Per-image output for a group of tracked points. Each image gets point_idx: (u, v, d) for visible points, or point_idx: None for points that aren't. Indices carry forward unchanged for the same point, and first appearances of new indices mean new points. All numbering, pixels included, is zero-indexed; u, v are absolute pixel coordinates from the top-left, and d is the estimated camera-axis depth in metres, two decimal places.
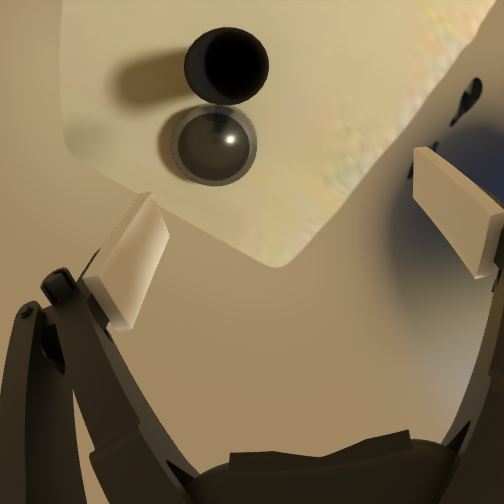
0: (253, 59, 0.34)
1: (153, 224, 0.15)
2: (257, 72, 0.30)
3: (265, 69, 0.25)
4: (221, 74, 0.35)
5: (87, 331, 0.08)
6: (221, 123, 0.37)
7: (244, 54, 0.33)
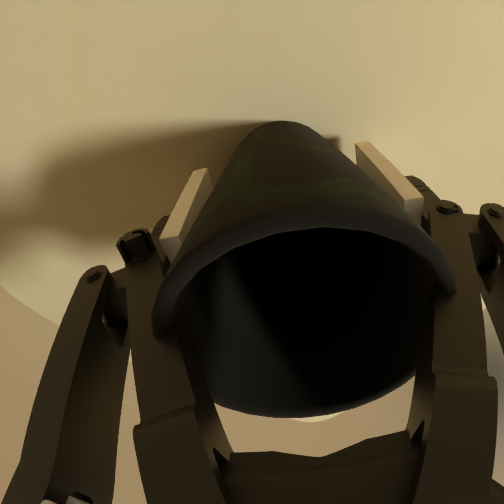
0: None
1: None
2: (357, 247, 0.13)
3: None
4: None
5: None
6: None
7: None
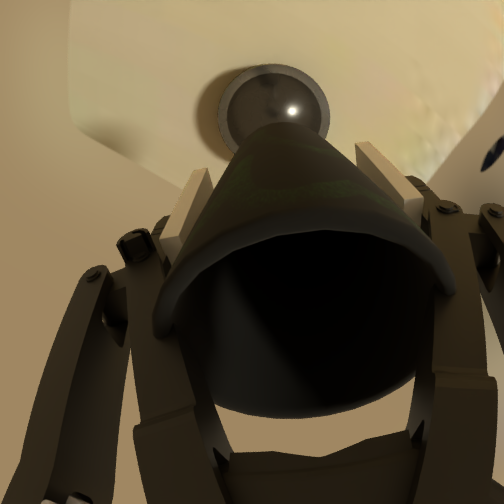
0: None
1: None
2: (357, 248, 0.13)
3: None
4: None
5: None
6: (287, 87, 0.27)
7: None
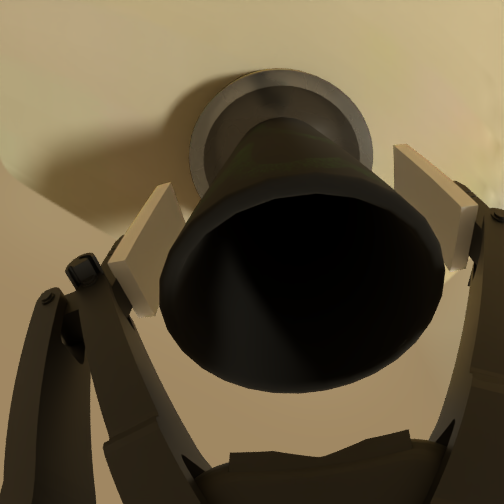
0: None
1: (172, 214, 0.15)
2: (353, 233, 0.13)
3: (423, 323, 0.08)
4: None
5: (109, 318, 0.08)
6: (306, 110, 0.16)
7: None
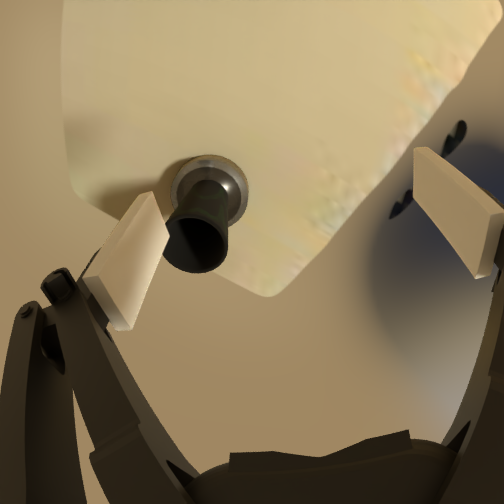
0: None
1: (153, 224, 0.15)
2: None
3: (225, 249, 0.34)
4: None
5: (86, 331, 0.08)
6: (215, 176, 0.42)
7: None
